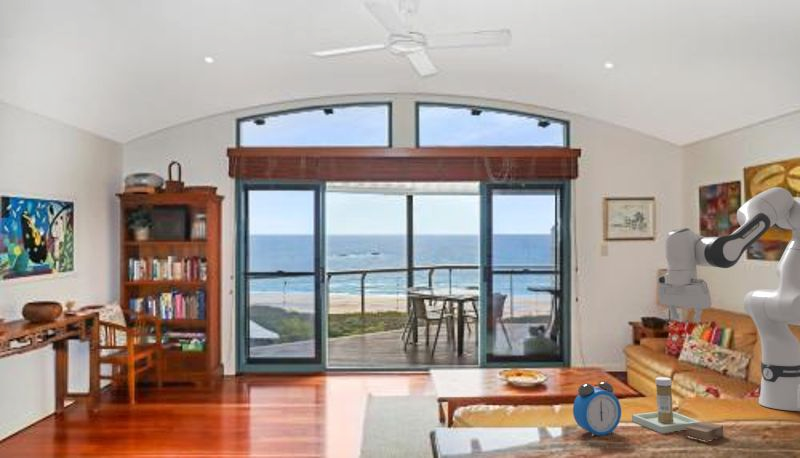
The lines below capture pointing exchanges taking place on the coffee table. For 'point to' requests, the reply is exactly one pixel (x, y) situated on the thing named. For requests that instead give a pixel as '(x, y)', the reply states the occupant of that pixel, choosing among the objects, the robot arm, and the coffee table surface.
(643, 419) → the dish
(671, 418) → the sprinkles bottle
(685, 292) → the robot arm
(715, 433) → the walnut block
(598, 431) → the alarm clock
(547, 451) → the coffee table surface
